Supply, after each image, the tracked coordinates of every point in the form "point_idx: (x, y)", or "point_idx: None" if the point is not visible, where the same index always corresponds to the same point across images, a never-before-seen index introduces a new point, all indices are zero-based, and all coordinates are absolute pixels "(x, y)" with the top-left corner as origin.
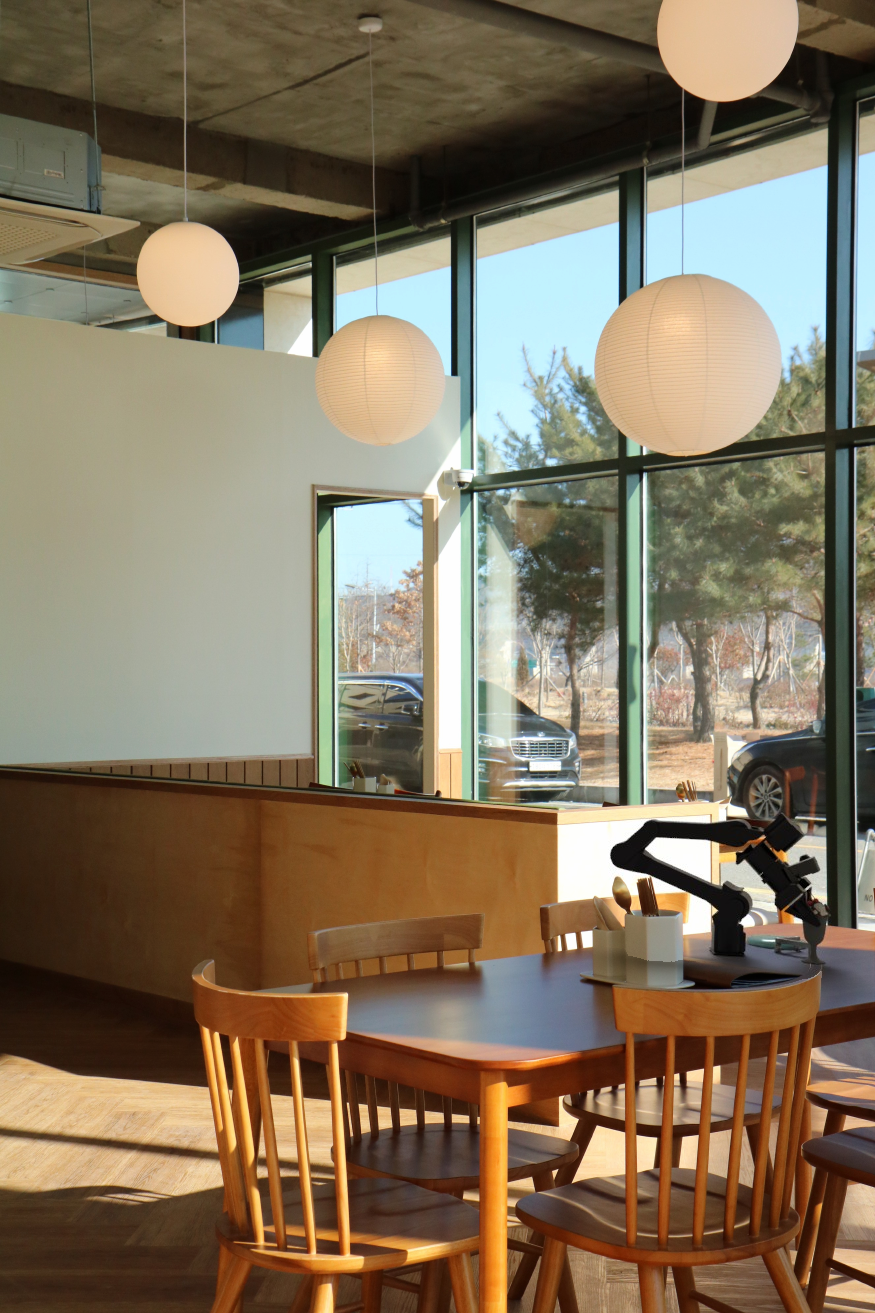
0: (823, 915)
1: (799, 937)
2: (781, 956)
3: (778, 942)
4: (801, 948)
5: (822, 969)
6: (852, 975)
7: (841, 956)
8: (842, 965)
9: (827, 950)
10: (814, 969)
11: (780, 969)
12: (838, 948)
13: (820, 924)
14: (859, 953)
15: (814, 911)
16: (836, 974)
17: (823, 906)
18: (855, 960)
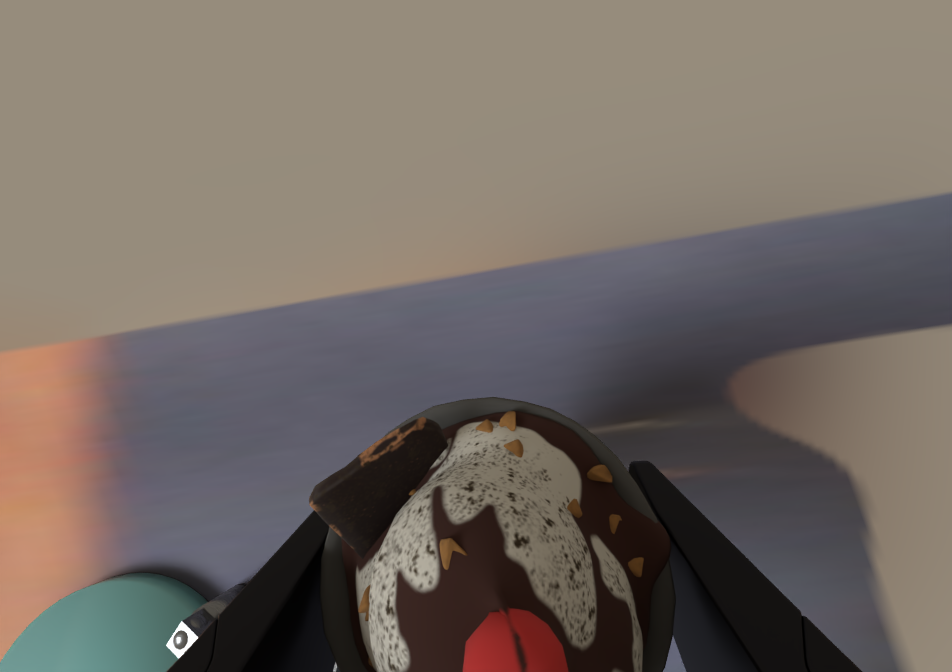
0: (569, 463)
1: (188, 623)
2: None
3: None
4: (186, 585)
5: (664, 413)
6: (711, 280)
7: (287, 392)
8: (499, 354)
9: (174, 468)
10: (693, 446)
11: (837, 607)
12: (108, 433)
13: (652, 466)
14: (184, 342)
15: (623, 585)
16: (743, 340)
17: (500, 493)
18: (349, 329)
